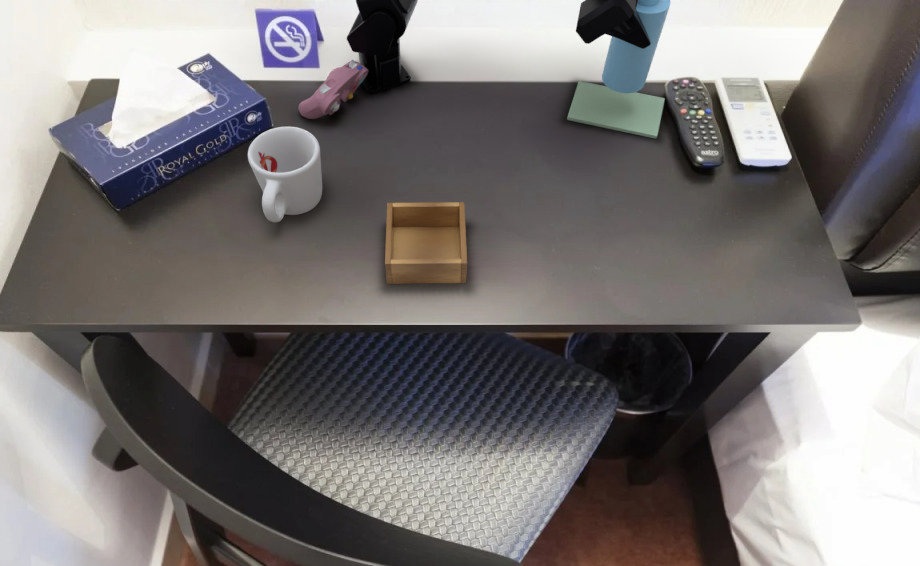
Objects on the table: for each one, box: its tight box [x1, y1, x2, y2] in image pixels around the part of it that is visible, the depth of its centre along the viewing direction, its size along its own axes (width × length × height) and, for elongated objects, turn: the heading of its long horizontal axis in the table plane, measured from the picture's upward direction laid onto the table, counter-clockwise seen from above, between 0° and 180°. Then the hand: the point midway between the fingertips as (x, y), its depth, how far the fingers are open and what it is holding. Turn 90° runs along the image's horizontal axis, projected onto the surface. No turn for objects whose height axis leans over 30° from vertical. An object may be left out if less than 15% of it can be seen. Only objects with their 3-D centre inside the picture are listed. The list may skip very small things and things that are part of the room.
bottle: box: [601, 0, 671, 93], centre depth 81 cm, size 6×6×14 cm
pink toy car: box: [298, 59, 369, 120], centre depth 88 cm, size 10×5×7 cm, turn 148°
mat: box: [566, 80, 666, 140], centre depth 90 cm, size 12×8×1 cm, turn 73°
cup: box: [247, 125, 323, 223], centre depth 77 cm, size 11×8×8 cm
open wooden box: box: [384, 201, 468, 285], centre depth 74 cm, size 9×9×4 cm
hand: (648, 31), depth 80 cm, fingers closed on bottle, 5 cm apart
